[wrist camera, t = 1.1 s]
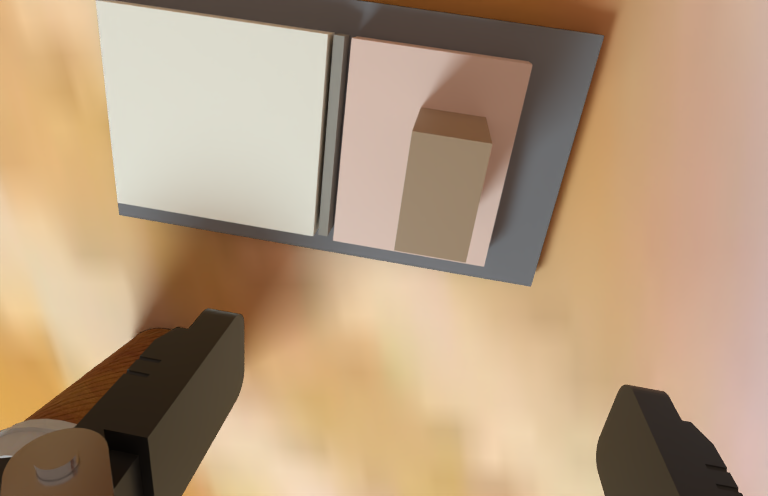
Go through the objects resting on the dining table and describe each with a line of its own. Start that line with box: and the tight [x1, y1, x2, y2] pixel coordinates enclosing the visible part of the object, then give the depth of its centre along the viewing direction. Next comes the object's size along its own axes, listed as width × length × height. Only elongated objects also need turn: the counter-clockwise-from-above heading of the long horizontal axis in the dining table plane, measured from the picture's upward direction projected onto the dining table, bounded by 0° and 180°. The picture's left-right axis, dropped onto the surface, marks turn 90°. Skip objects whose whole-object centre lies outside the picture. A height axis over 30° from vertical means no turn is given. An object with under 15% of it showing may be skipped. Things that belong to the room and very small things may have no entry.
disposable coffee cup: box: [0, 328, 171, 458], centre depth 30 cm, size 10×10×12 cm
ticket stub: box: [333, 36, 533, 267], centre depth 23 cm, size 8×10×6 cm
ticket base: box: [96, 0, 604, 286], centre depth 26 cm, size 24×13×2 cm, turn 83°
